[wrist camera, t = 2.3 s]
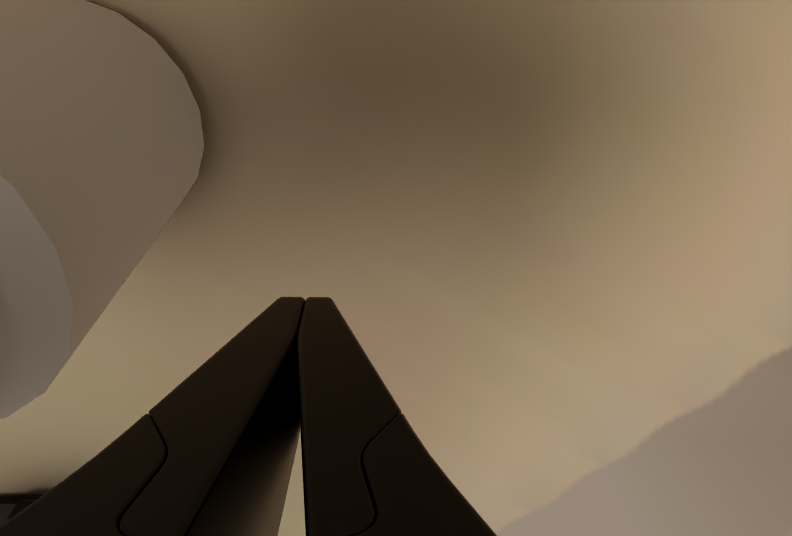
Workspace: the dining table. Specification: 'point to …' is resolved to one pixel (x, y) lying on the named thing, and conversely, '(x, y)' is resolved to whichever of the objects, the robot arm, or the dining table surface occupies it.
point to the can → (80, 174)
